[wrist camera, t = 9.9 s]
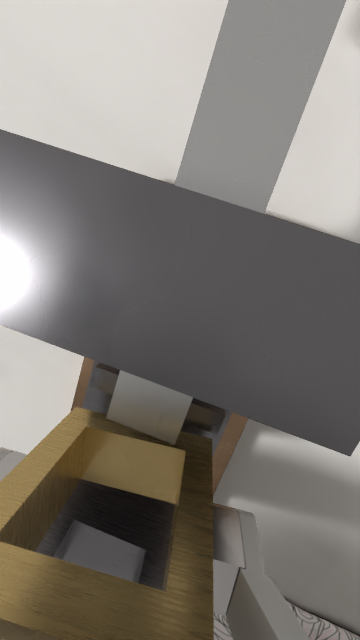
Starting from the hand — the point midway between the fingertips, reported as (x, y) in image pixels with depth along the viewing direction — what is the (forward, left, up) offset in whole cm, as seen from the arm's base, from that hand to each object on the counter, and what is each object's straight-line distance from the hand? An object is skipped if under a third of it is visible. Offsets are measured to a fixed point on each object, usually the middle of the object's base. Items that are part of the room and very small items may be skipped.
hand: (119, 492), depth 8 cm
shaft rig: (0, 0, -10) cm, 10 cm away
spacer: (0, 0, -2) cm, 2 cm away
